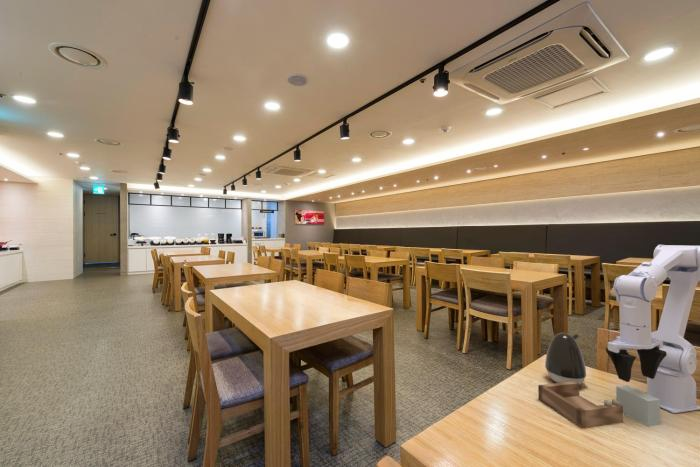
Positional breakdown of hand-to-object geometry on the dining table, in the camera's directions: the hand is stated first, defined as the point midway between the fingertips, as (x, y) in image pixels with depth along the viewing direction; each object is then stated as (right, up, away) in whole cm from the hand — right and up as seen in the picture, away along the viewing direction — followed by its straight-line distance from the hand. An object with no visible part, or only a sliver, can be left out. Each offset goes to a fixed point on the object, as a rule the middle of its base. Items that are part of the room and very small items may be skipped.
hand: (636, 378), depth 74 cm
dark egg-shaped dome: (-5, -10, +17) cm, 20 cm away
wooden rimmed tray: (-13, -9, +3) cm, 16 cm away
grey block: (0, -10, 0) cm, 10 cm away
